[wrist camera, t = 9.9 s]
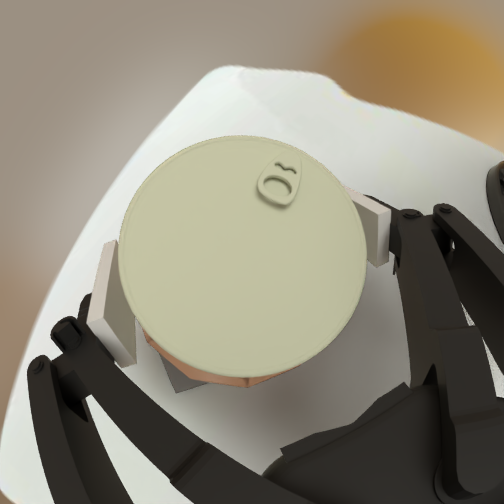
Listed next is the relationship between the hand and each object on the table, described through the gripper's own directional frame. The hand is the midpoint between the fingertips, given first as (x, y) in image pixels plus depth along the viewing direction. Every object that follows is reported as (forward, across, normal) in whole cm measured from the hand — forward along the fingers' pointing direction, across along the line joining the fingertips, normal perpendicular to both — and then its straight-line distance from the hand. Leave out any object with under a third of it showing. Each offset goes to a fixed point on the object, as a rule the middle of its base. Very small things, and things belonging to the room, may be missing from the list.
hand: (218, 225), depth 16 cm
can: (+2, 0, +6) cm, 7 cm away
